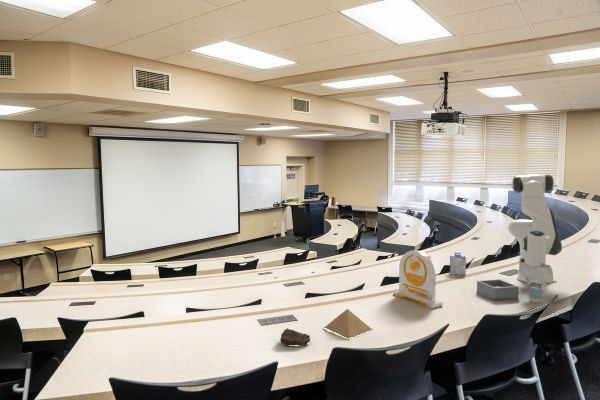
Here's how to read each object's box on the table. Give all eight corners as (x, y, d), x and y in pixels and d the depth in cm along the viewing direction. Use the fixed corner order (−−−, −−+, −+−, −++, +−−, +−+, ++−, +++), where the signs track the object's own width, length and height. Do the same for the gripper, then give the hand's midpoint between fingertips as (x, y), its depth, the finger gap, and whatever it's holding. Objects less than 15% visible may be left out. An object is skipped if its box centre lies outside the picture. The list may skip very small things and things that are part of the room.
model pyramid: (345, 320, 189) (345, 299, 188) (374, 331, 176) (374, 309, 175) (320, 329, 178) (319, 307, 177) (348, 341, 165) (348, 318, 164)
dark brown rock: (277, 346, 161) (277, 334, 160) (287, 336, 170) (287, 325, 170) (303, 351, 156) (303, 338, 156) (312, 341, 165) (312, 329, 165)
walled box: (499, 291, 232) (499, 279, 232) (518, 298, 218) (518, 286, 217) (476, 292, 229) (477, 280, 229) (494, 300, 215) (494, 288, 214)
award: (392, 294, 227) (393, 247, 225) (404, 292, 231) (404, 245, 229) (430, 309, 202) (431, 256, 200) (442, 306, 207) (443, 254, 205)
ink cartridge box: (464, 273, 273) (464, 252, 272) (466, 275, 268) (466, 254, 267) (449, 272, 275) (449, 252, 274) (450, 274, 270) (451, 253, 269)
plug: (535, 299, 217) (535, 286, 216) (540, 301, 213) (541, 288, 213) (528, 299, 216) (529, 287, 216) (534, 302, 212) (535, 289, 212)
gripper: (557, 265, 203) (556, 292, 204) (526, 257, 223) (526, 282, 224) (546, 266, 202) (545, 292, 203) (517, 258, 222) (516, 282, 223)
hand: (535, 287), depth 214 cm, fingers open, 8 cm apart
